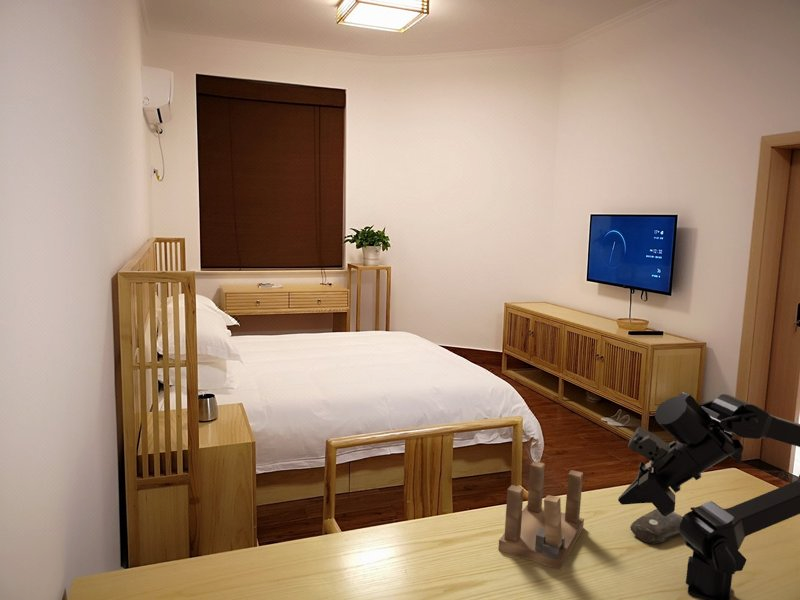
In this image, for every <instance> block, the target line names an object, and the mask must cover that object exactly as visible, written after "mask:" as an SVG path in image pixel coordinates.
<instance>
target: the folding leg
mask: <svg viewBox="0 0 800 600" xmlns="http://www.w3.org/2000/svg"><path fill="white" fill-rule="evenodd" d="M561 506H562V505H561V497H560V496H556V495H549V494H548V495H546V497H544V499H543V508H544V518H545V543H547V544H550V545H554V546H557V547H560V546H561V544H562V534H561V513H562V509H561V508H562V507H561Z"/></svg>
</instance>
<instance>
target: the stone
mask: <svg viewBox="0 0 800 600" xmlns="http://www.w3.org/2000/svg"><path fill="white" fill-rule="evenodd" d="M682 519H683V516H682V515H681V514H679V513H677V512H675V511H674V512H672V513H670V514H669V515H667V516H663V515H662V514H661V513H660V512H659V511H658V509H657V508H655V509H654V510H651V511H649V512H648V513H646V514H644V515H641V516H640V517H639V518H636V520H635V521H633V522H632V523H631V525H630V527H629V528H630V530H631V532H632V533H633V534H634V535H635V536H636V537H637V538H638V539H639V540H642V541H643V542H645V543H648V544H659V543H663V542H665V541H668V540H671V539H674V538H676V537H680V536H681V534H680V523H681V521H682ZM681 537H682V536H681Z"/></svg>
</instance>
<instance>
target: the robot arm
mask: <svg viewBox="0 0 800 600" xmlns="http://www.w3.org/2000/svg"><path fill="white" fill-rule="evenodd" d="M654 419H655V421H656V422H657V423H658V424H659V425H660V426H661V427H662V428H663V429H664V430H665V431H667V432H668V433H669V434H670V435H671V436H672V437H673V438H674V439H675V440H672V441H671V442H669V443H667V442H665V440H663V439H662V438H660V437H659V436H657V435H655V434H654V433H653V432H651V431H650V430H648V429H645V428H644V427H642V426H638V427H637V428H636V430H635V431H634V432H633V434H632V435H631V437H630V438H629V439H628V440H629V441H628V444H627V447H628V448H629V449H630V450H631V451H632V452H635V453H637V454H639V455H641V456H642V457H644V458H646V460H649V462H646V464H645V463H644V462H643V461H640V462H639V468H638V469H639V470H638V472H637V473H638V474H637V477H635V479H634V480H633V482H631V484H629V486H628V487H627V488H626V489H625V490H624V491H623V492H622V493H621V495H620V496H619V497H618V498H617V499H618V502H619V504H620V505H622V506H623V505H624V506H625V505H634V504H636V505H638V504H652V505H653V506H654V508H655V509H658V511H659V512H660V513H661V514H662V515H663V516H667V515H669V514H670V513H672V512H675V507H676V493H678V492H679V491H681V486H682V485H684V484H685V483H687V482H689V481H690V480H692V479H693V478H694V480H695V481H698V480H699V479H701V478H702V473H703V472H705V471H707V470H708V469H710V468H711V467H713V466H714V465H716V464H718V463H719V462H722V461H723V460H725V459H726V458H728V457H731V458H732V459H733V460H735V461H736V463H742V460H743V450H744V448H745V447H744V446H743V444H742V442H741V441H740V439H735V438H730V437H729V436H728V435H727V434H726V433H725V432H729V433H732V434H734V435H736V436H738V437H739V438H742V439H752V440H761V439H764V438H765V439H772V440H775V441H779V442H782V443H785V444H788V445H792V446H795V447H798V448H800V423H797V422H795V421H792V420H789V419H785V418H782V417H779V416H775V415H772V414H770V412H768V411H766V410H764V409H762V408H760V407H759V406H757V405H755V404H752V403H749V402H748V401H745V400H742V399H741V398H737V397H735V396H733V395H730V394H726V393H721V394H720V395H719V396H717V397H716V398H715V399H713V400H709V401H706V402H702V403H699V404H698V402H697V401H696V399H695V398H694V397H693V396H692V394H689V393H687V392H684V391H681V393H680V394H679V395H678V396H673V397H670V398H668V399H665V401H662V402H661V403H660V404H659V405H658V406H657V408H656V410H655V413H654ZM712 425H713V426H715V427H711V426H712ZM716 427H717V428H716ZM719 428H720V429H719ZM722 430H723V431H725V432H723V431H722ZM690 510H691V511H688V512H686V513H685V514H683V516H682V517H683V519H682V521H681V523H680V534H681V537H682V538H683V540H684V543H685V546H686V547H688V549H690V550H691V551H692V555H690V556H688V560H687V567H686V577H685V578H686V579H685V585H687V593H688V595H691V596H695V597H698V598H701V599H705V600H731V598H732V597H731V596H732V594H731V593H732V582H733V575H735V573H736V572H741V571H743V569H744V567H745V565H746V563H747V559H746V557H745V556H744V555H743V554H742V553H741V552H740V551H739V550H740V549H741V546H742V544H743V542H744V540H745V538H746V537H748V536H750V535H752V534H755V533H757V532H760V531H762V530H764V529H767V528H769V527H772V526H775V525H776V524H780V523H781V522H783V521H786V520H789V519H790V518H793V517H796V516H798V515H800V474H798V477H797V478H796V480H795V481H793V482H790V483H788V484H786V485H783V486H780V487H778V488H777V487H776V489H773V490H770V491H768V492H765V493H764V494H763V493H762V494H760V495H758V496H755V497H753V498H751V499H748V500H745V501H744V502H741V503H738V504H736V505H733V506H731V507H729V508H728V507H727V508H723V507H721V506H720V505H718V504H717V503H715V502H714V501H712V500H710V501H706V502H705V503H704V502H703V504H701V505H699V506H695V507H694V506H693V507H690Z"/></svg>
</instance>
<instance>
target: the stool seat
mask: <svg viewBox="0 0 800 600" xmlns="http://www.w3.org/2000/svg"><path fill="white" fill-rule="evenodd" d="M545 466H546V465H545V463H544V462H540V461H535V460H533V462H531V463H530V465H529V479H528V495H527V504H526V506H525V507H524V508H523V502H524V501H523V500H524V489H525V488H524V487H522V486H518V485H515V484H514V485H513V484H511V485H510V486H509V487H508V488H507V489H506V491H507V493H506V504H505V505H506V507H505V508H506V509H505V524H504V525H505V526H504V532H503V534H502V536H500V538H499V540H498V549H497V550H498V551H502V552H504V553H507V554H510V555H513V556H518V557H520V558H523V559H526V560H530V561H533V562H536V563H538V564H542V565H545V566H548V567H551V568H554V569H557V570H561V569H562V567H563V565H564V564H565V562H566V560H567V558H568V557H569V555H570V553H571V551H572V549H573V547H574V545H575V543H576V542H577V541H578V538H579V536H580V535H581V533H582V531H583V529H584V526H585V522H584V521H585V518H583V517H580V515H581V512H580V511H581V503H582V502H581V500H582V488H583V475H584V473H583V472H581V471H577V470H573V469H571V470H570V471H569V472H568V474H567V484H566V485H567V487H566V496H565V497H566V498H565V499H566V500H565V501H566V502H565V513H564V512H561V534H562V544H561V546H560V547H557V546H554V545H550V544H547V543H545V518H544V506H543V495H544V479H545V477H544V476H545Z"/></svg>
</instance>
